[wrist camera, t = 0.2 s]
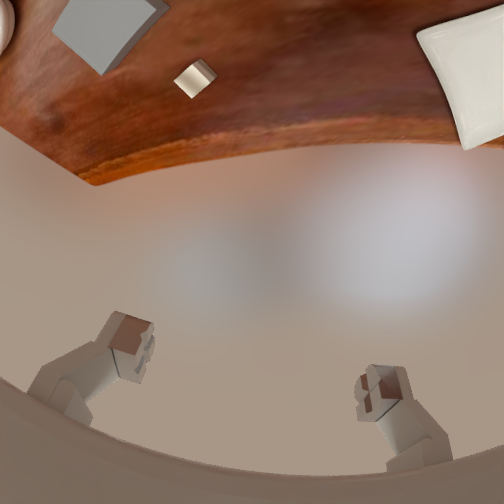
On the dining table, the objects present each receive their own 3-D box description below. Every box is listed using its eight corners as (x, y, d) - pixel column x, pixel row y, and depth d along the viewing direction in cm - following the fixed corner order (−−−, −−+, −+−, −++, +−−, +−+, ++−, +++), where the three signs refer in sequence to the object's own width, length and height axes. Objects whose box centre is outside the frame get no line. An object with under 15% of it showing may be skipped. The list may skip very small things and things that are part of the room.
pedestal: (114, -37, 28) (96, -37, 24) (170, 7, 37) (156, 9, 34) (68, 25, 38) (51, 31, 34) (116, 66, 48) (101, 75, 44)
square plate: (457, 144, 48) (464, 153, 46) (407, 31, 34) (414, 33, 32) (539, 110, 33) (548, 118, 30) (506, -1, 19) (516, 2, 16)
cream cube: (200, 58, 46) (191, 64, 43) (217, 75, 49) (210, 82, 45) (183, 73, 49) (173, 81, 46) (199, 90, 51) (191, 98, 48)
